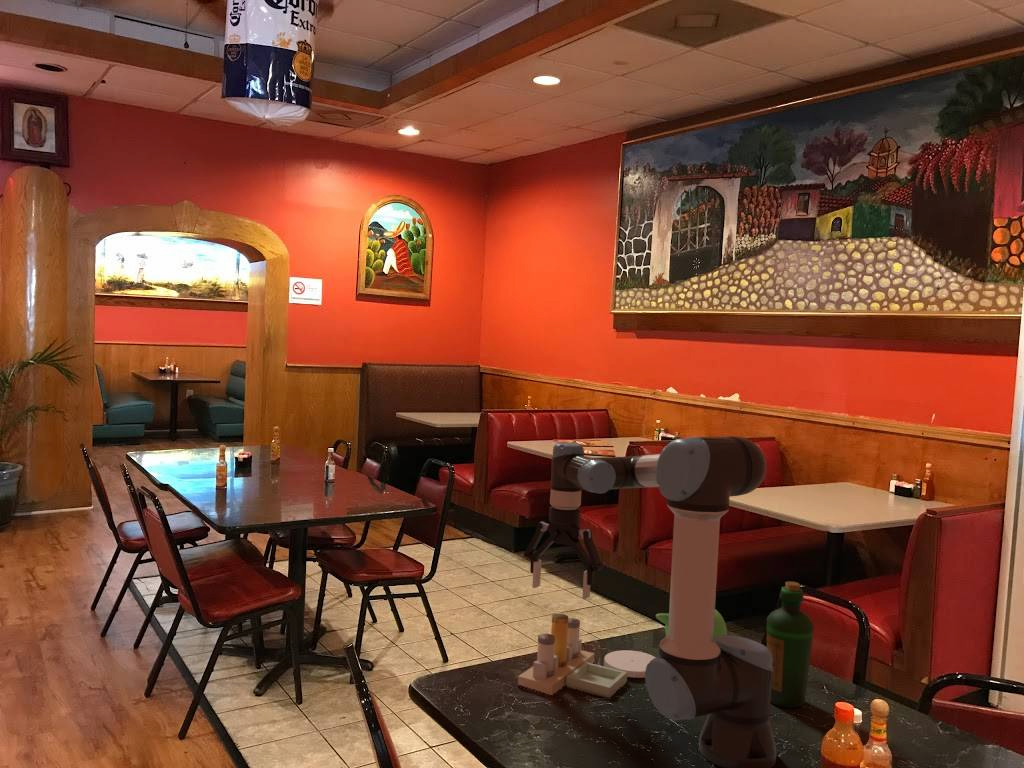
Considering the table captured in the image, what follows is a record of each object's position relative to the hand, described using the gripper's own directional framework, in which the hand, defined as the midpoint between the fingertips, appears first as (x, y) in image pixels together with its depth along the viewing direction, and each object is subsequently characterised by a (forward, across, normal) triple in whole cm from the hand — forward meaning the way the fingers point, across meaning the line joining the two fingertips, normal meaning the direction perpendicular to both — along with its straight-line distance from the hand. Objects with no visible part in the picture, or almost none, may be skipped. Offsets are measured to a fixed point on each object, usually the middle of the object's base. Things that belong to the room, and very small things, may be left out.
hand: (560, 592), depth 206 cm
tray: (+20, -11, 0) cm, 23 cm away
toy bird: (+21, -24, -32) cm, 45 cm away
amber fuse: (+18, 0, 0) cm, 18 cm away
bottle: (+20, -51, -17) cm, 58 cm away
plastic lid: (+21, -14, -14) cm, 29 cm away
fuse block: (+20, 0, 0) cm, 21 cm away
